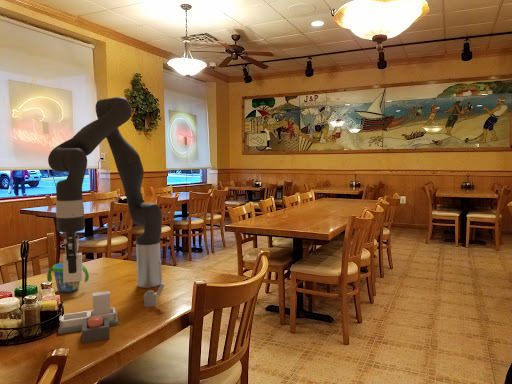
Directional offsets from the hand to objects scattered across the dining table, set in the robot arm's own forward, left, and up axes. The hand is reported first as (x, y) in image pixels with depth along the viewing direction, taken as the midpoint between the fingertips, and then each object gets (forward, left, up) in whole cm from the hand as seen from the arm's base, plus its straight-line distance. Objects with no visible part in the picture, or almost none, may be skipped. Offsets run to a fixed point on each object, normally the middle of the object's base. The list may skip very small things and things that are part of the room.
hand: (72, 271), depth 117 cm
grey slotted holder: (-4, 0, -17) cm, 17 cm away
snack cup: (+4, -37, -17) cm, 41 cm away
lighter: (-25, -7, -17) cm, 31 cm away
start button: (-6, +10, -15) cm, 19 cm away
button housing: (-6, +10, -17) cm, 21 cm away
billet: (0, 0, -3) cm, 3 cm away
